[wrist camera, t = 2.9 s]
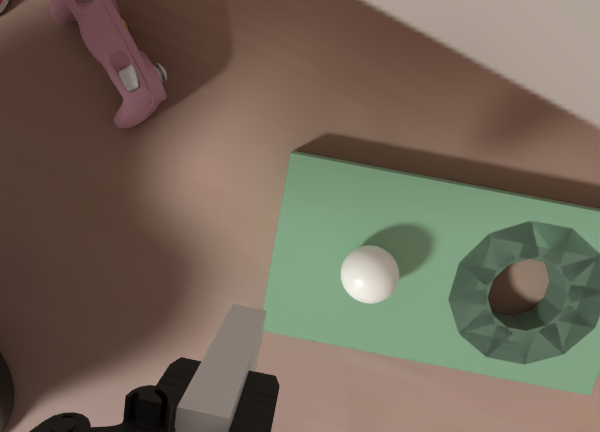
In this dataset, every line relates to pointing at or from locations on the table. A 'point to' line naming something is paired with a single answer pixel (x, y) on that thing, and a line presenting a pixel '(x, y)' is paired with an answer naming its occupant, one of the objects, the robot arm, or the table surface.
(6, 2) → the pill bottle
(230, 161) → the table surface
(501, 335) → the mat
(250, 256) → the table surface
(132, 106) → the video game controller
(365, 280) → the ball
